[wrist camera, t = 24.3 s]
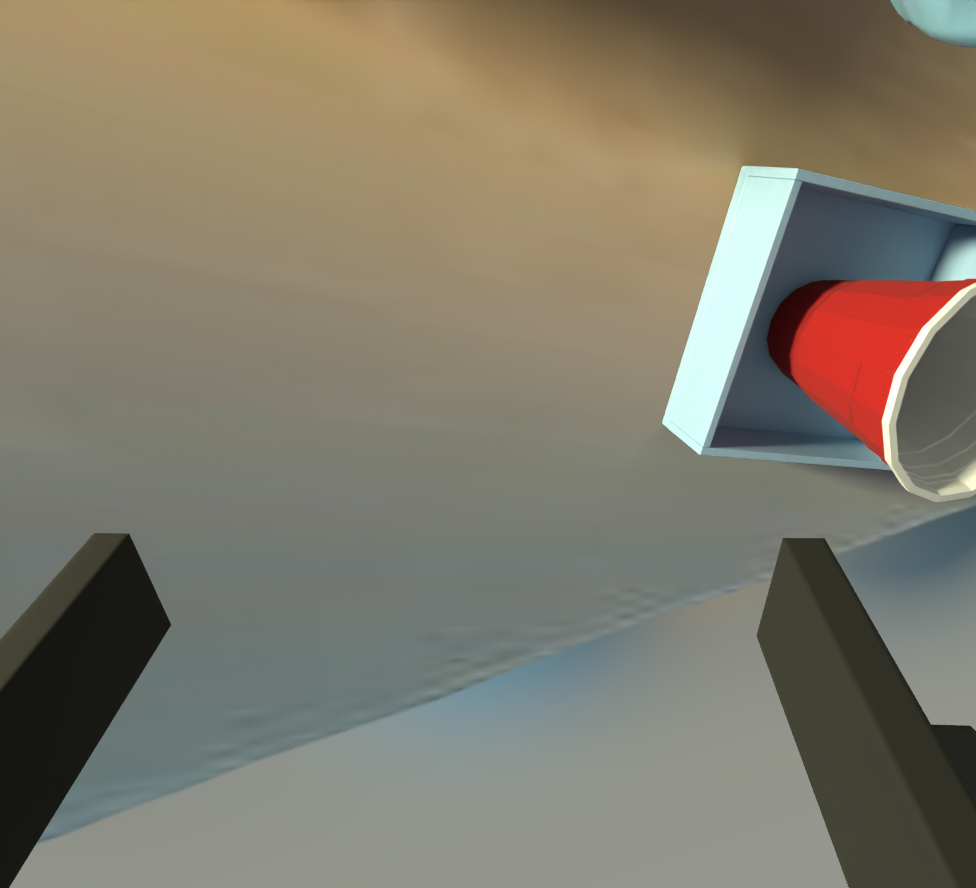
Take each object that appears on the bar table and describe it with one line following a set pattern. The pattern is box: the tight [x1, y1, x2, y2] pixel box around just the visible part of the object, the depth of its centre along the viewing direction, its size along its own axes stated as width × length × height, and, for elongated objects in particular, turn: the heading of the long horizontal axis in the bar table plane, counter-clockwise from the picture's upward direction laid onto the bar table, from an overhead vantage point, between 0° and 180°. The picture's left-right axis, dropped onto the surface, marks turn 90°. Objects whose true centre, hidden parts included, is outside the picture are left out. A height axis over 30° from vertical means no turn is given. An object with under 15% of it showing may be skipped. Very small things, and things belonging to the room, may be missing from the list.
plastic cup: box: [767, 279, 976, 502], centre depth 33 cm, size 11×11×12 cm
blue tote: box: [662, 166, 976, 470], centre depth 37 cm, size 15×15×5 cm
